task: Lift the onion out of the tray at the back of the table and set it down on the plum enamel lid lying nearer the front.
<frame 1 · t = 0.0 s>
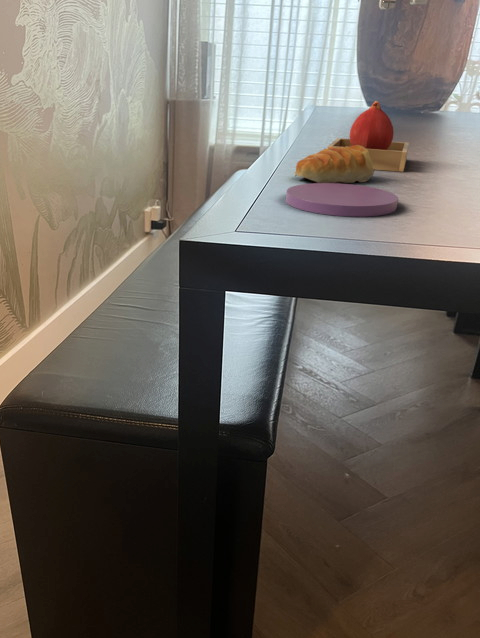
hand: (401, 7, 80), 19 cm above the table, tool pointing down, fingers open, 8 cm apart
tray: (367, 163, 85), on the table
onion: (366, 164, 85), resting in tray
pastry: (334, 181, 73), on the table
lid: (340, 203, 61), on the table
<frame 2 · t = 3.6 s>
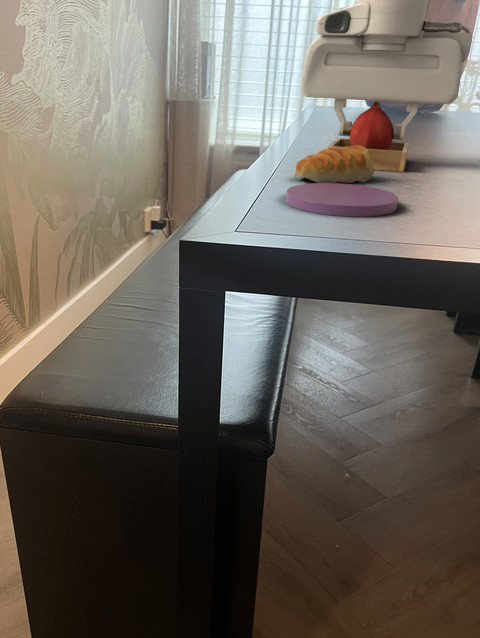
hand: (370, 137, 83), 3 cm above the table, tool pointing down, fingers closed on onion, 6 cm apart
onion: (366, 164, 85), resting in tray, touching gripper
everything else where it was.
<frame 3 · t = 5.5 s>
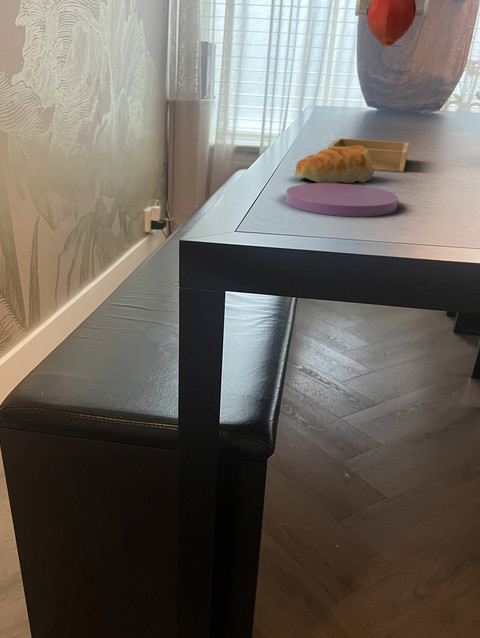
hand: (390, 15, 75), 18 cm above the table, tool pointing down, fingers closed on onion, 6 cm apart
onion: (386, 48, 77), point 14 cm above the table, touching gripper
everything else where it was.
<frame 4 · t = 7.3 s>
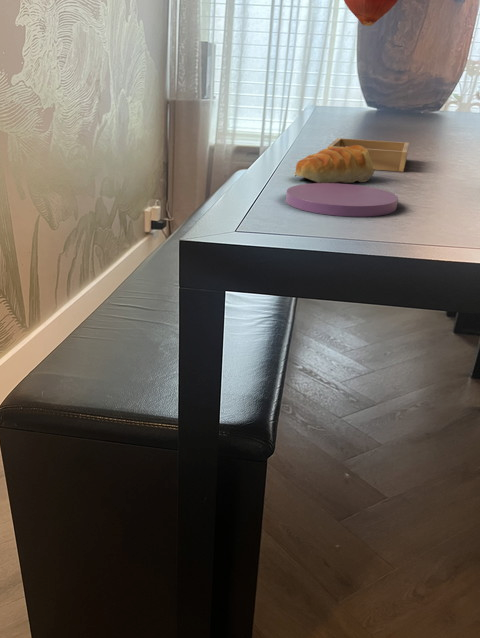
onion: (366, 28, 56), point 16 cm above the table, touching gripper
everything else where it was.
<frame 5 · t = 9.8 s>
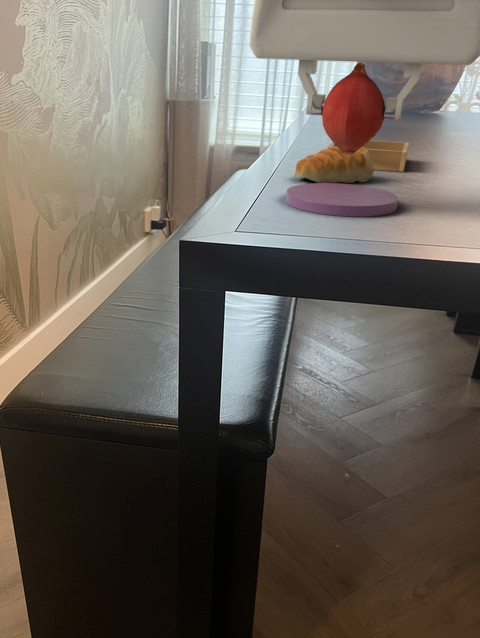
hand: (352, 116, 57), 8 cm above the table, tool pointing down, fingers closed on onion, 6 cm apart
onion: (347, 156, 59), point 5 cm above the table, touching gripper
everything else where it was.
when the fingers open (4 cm above the table, at t = 11.3 s): onion stays where it is, resting on lid.
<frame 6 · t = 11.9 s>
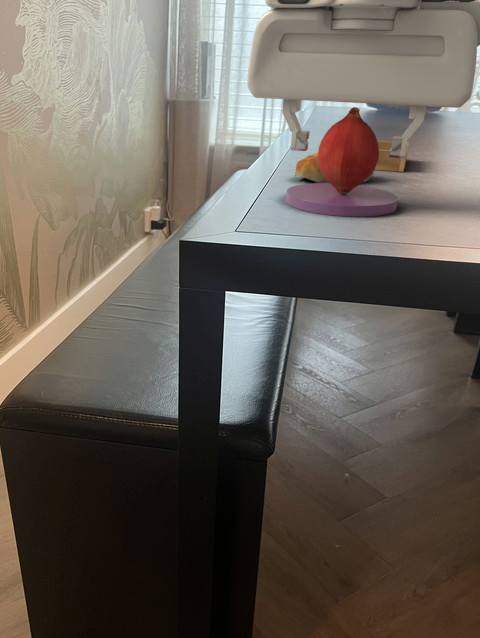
hand: (346, 153, 59), 5 cm above the table, tool pointing down, fingers open, 8 cm apart
onion: (342, 195, 61), point 1 cm above the table, touching lid
everything else where it was.
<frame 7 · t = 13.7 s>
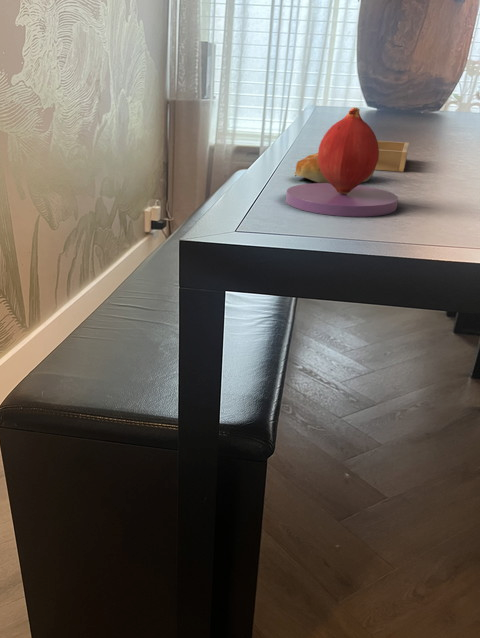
nothing on the table moved.
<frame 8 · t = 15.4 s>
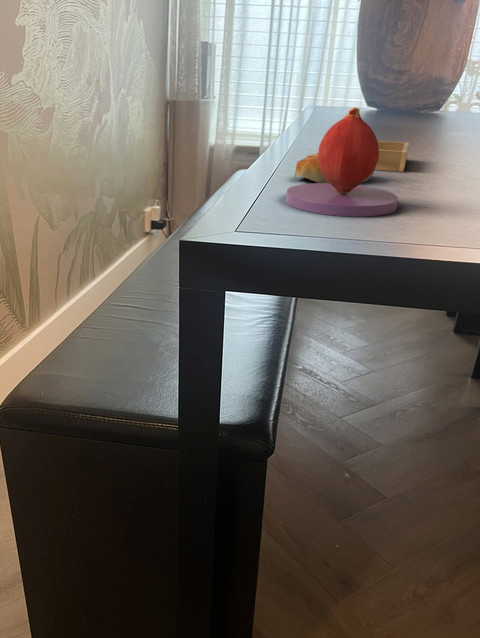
nothing on the table moved.
at the end: onion 0.1 cm off-centre on the lid, point 0.8 cm above the lid's base; onion moved 28.2 cm from its start; the gripper is holding nothing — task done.
